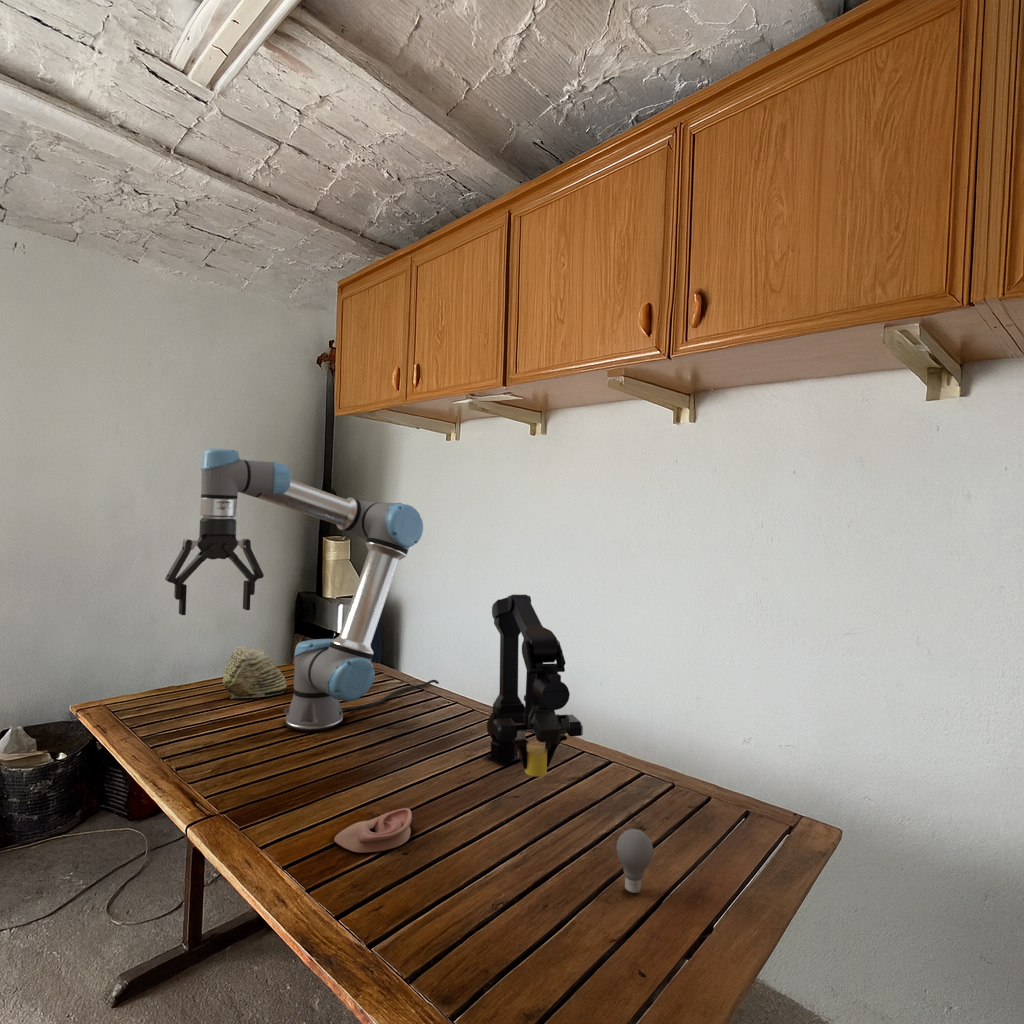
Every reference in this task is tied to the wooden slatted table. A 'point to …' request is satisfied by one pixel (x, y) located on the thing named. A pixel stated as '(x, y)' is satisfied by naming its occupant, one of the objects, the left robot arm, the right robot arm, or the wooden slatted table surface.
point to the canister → (536, 761)
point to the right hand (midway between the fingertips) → (535, 767)
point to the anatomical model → (377, 832)
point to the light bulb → (634, 857)
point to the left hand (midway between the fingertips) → (215, 611)
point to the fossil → (252, 674)
